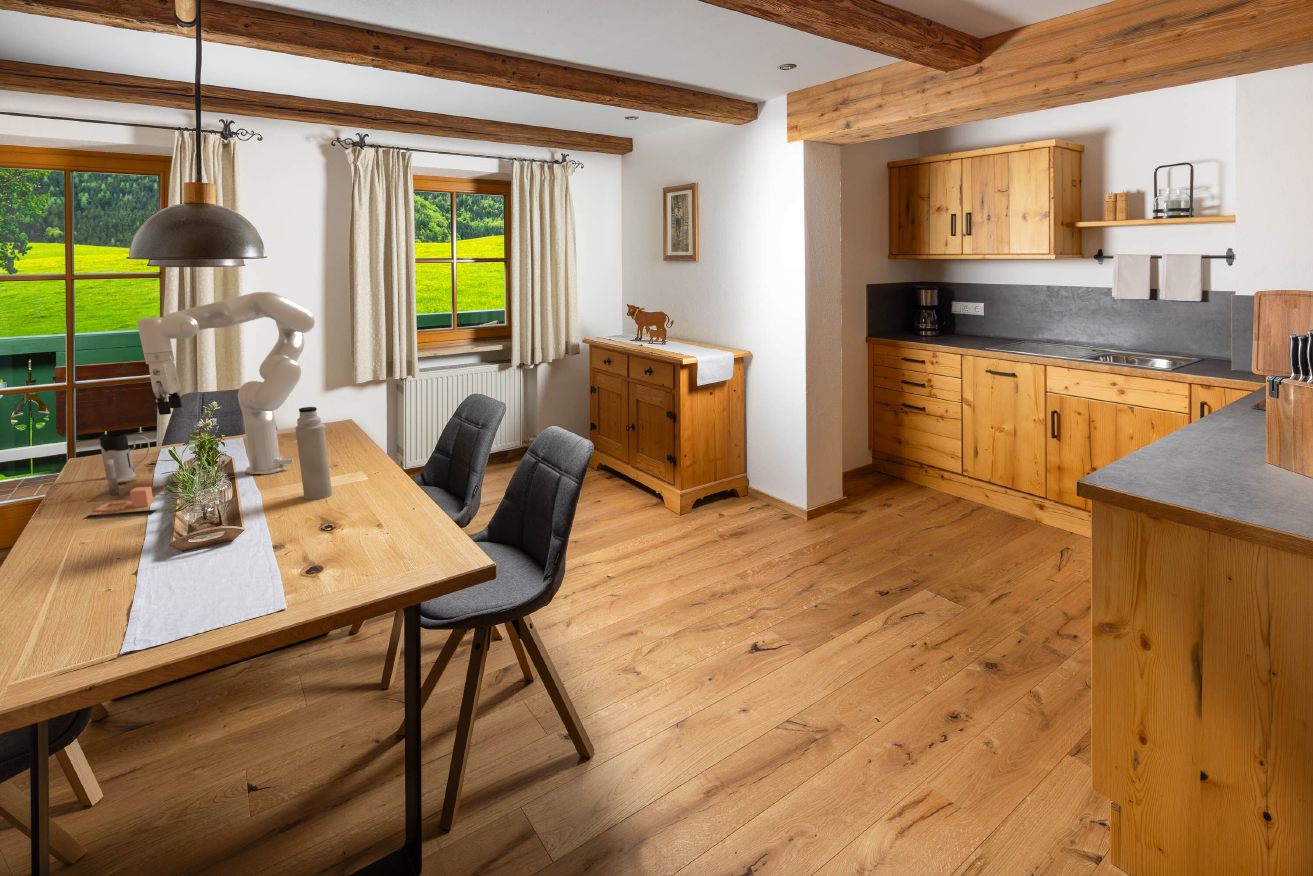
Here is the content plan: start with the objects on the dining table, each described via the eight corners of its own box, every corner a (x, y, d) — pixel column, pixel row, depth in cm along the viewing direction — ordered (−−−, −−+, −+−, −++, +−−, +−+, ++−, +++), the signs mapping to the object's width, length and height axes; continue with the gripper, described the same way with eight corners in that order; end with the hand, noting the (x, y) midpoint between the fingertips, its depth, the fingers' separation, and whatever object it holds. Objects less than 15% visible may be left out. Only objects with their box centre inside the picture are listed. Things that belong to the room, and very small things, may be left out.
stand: (170, 489, 238) (164, 452, 235) (154, 502, 225) (147, 462, 222) (107, 494, 234) (100, 456, 231) (86, 507, 221) (78, 467, 218)
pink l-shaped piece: (156, 503, 222) (153, 484, 221) (146, 511, 215) (142, 492, 214) (106, 507, 219) (103, 488, 218) (94, 515, 212) (90, 495, 211)
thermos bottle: (310, 492, 234) (300, 405, 227) (336, 491, 234) (326, 405, 228) (299, 499, 226) (288, 410, 220) (326, 499, 226) (315, 409, 220)
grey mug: (108, 476, 255) (100, 433, 251) (157, 471, 260) (150, 429, 257) (101, 482, 247) (93, 439, 243) (151, 477, 252) (144, 434, 249)
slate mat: (166, 502, 225) (166, 501, 225) (150, 515, 213) (150, 513, 213) (103, 507, 221) (103, 505, 221) (83, 520, 210) (82, 518, 209)
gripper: (163, 360, 222) (174, 415, 226) (182, 352, 238) (192, 404, 242) (134, 362, 220) (147, 418, 224) (155, 354, 236) (167, 406, 240)
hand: (170, 411), depth 233 cm, fingers open, 9 cm apart
